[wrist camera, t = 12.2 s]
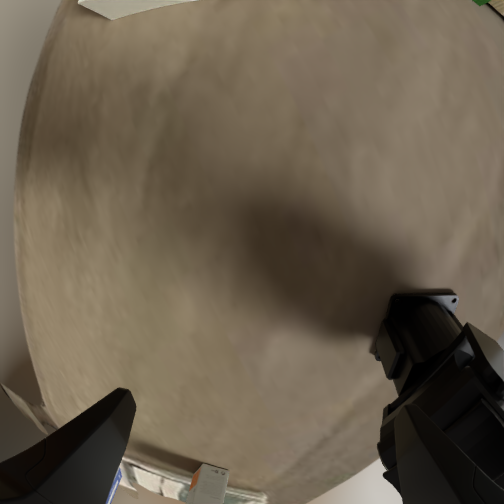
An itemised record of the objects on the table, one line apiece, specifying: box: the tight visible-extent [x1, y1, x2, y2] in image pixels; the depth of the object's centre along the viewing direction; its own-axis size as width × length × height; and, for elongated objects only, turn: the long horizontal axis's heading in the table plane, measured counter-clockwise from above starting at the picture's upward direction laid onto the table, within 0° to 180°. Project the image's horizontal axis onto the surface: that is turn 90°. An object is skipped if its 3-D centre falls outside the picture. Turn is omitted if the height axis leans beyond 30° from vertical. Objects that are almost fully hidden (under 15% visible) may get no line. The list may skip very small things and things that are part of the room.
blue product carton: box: [106, 467, 122, 504], centre depth 35 cm, size 8×3×12 cm, turn 164°
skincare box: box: [186, 463, 229, 504], centre depth 29 cm, size 6×4×12 cm
